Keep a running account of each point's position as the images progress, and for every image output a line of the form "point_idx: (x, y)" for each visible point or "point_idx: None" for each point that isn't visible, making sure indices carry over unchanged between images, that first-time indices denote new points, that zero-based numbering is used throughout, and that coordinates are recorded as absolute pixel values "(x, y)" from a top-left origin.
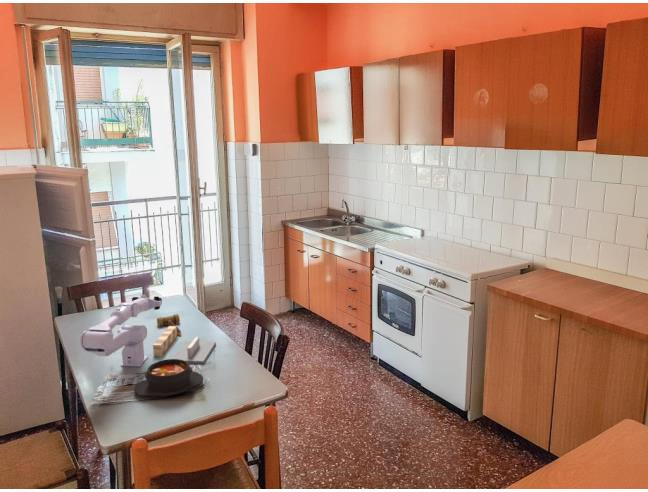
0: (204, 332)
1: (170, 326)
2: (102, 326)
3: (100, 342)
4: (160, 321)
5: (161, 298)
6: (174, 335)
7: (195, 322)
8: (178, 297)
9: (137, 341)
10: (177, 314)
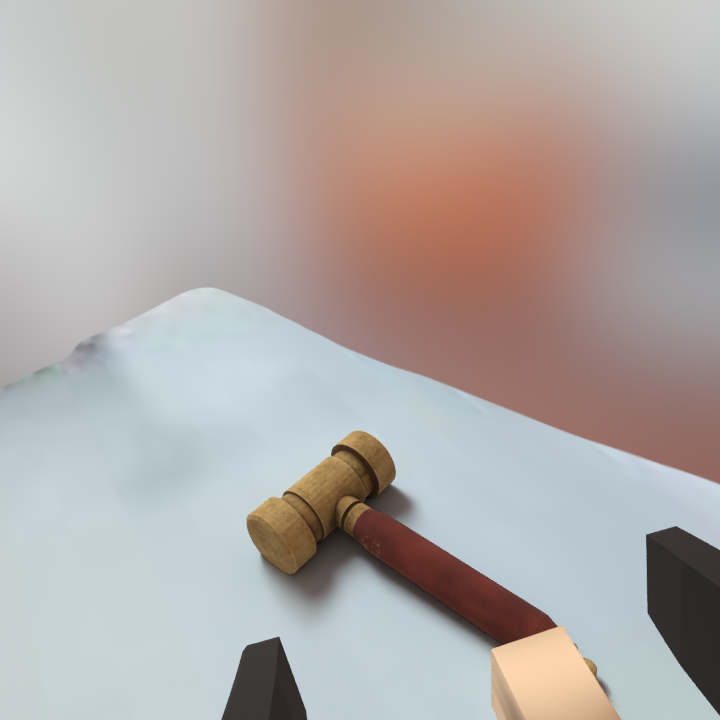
0: None
1: (512, 651)
2: None
3: None
4: (294, 543)
5: (682, 530)
6: None
7: (482, 447)
8: (206, 300)
9: None
10: (367, 435)
